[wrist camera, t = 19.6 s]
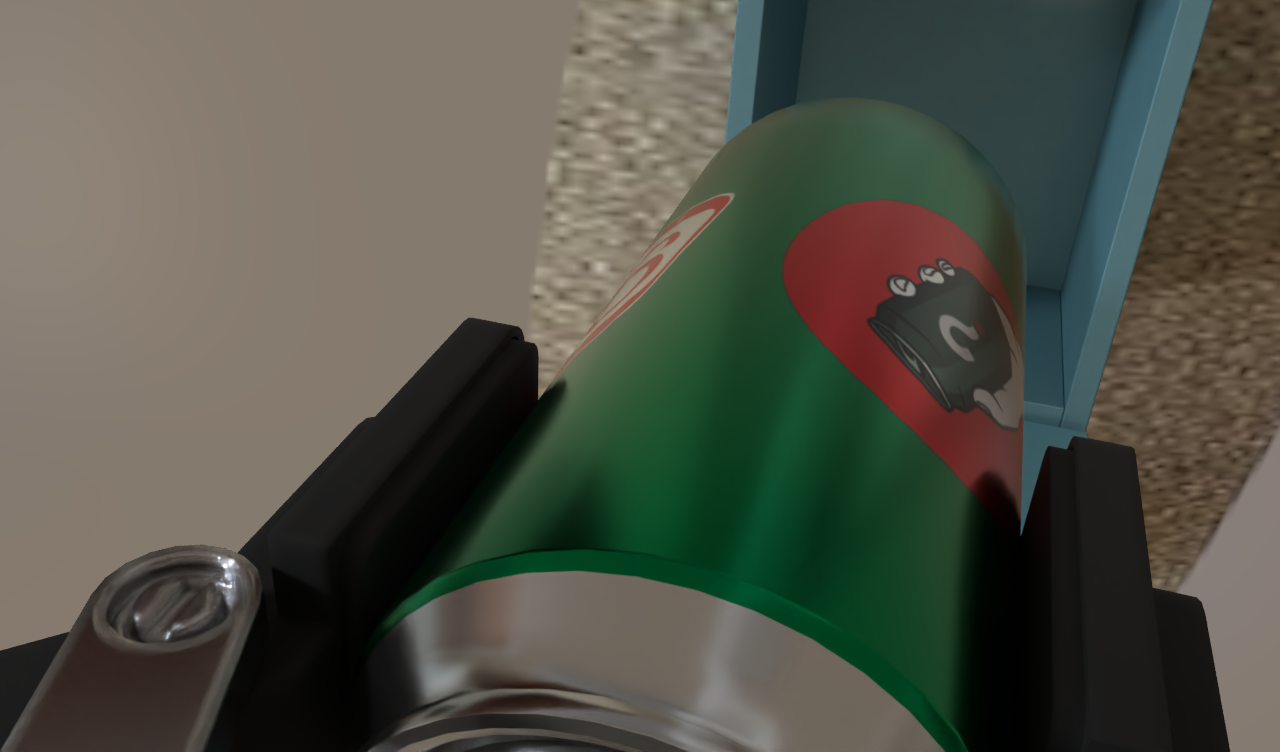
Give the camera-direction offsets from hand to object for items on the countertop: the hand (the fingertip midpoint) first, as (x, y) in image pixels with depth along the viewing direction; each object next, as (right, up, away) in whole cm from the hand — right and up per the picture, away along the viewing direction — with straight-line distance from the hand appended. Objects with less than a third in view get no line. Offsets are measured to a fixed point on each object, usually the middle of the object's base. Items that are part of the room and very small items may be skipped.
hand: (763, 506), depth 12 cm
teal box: (+10, +12, +31) cm, 35 cm away
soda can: (+2, +3, +6) cm, 7 cm away
